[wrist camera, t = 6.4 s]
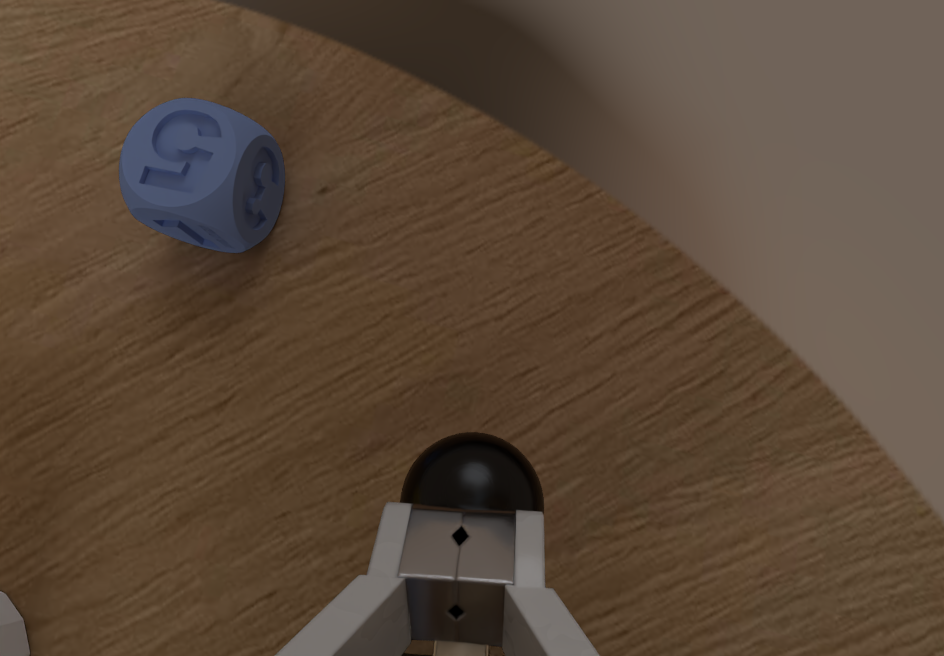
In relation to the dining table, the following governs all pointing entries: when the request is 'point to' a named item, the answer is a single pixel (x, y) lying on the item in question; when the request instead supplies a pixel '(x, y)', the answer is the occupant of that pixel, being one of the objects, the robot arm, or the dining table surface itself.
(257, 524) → the dining table surface
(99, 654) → the dining table surface
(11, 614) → the white faceted cylinder
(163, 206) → the decorative dice
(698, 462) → the dining table surface
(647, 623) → the dining table surface
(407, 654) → the black lever base
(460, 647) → the silver lever with knob
